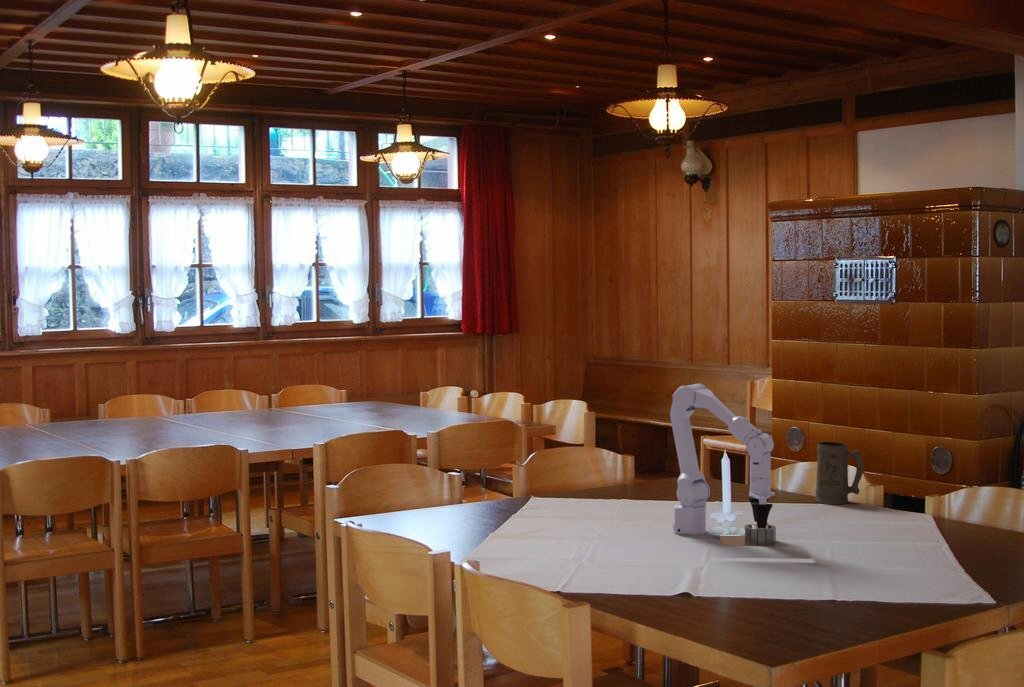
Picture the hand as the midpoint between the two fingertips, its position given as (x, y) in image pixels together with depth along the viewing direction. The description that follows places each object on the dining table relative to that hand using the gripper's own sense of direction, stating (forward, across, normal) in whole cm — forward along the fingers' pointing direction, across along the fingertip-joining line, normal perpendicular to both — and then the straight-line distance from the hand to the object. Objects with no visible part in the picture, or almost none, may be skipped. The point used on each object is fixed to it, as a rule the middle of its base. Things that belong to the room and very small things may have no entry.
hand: (760, 525), depth 327 cm
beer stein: (+6, +65, -33) cm, 73 cm away
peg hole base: (+5, 0, +3) cm, 6 cm away
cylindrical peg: (+4, 0, 0) cm, 4 cm away
